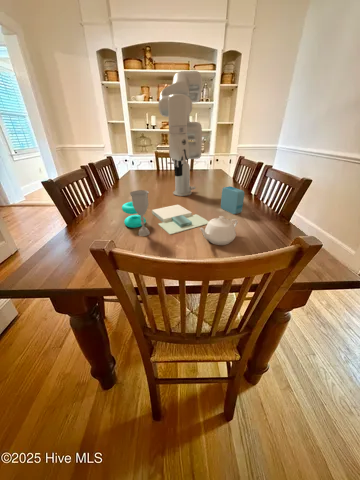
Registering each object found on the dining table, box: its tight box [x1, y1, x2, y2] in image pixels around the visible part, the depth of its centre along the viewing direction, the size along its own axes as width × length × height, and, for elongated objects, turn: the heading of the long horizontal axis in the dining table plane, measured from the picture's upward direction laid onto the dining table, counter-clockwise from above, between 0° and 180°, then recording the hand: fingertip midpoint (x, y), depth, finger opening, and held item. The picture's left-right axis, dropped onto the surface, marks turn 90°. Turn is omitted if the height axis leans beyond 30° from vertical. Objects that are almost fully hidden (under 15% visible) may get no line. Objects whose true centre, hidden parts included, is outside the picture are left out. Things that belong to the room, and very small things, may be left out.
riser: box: [151, 204, 193, 223], centre depth 104 cm, size 16×14×2 cm
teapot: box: [199, 215, 239, 246], centre depth 79 cm, size 20×12×10 cm, turn 123°
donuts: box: [121, 201, 147, 229], centre depth 92 cm, size 10×10×10 cm
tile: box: [172, 215, 192, 228], centre depth 94 cm, size 6×9×2 cm, turn 28°
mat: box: [157, 213, 210, 236], centre depth 94 cm, size 22×12×1 cm, turn 120°
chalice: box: [129, 189, 151, 237], centre depth 82 cm, size 7×7×18 cm
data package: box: [220, 185, 245, 215], centre depth 105 cm, size 12×4×12 cm, turn 30°
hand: (178, 175), depth 93 cm, fingers closed
